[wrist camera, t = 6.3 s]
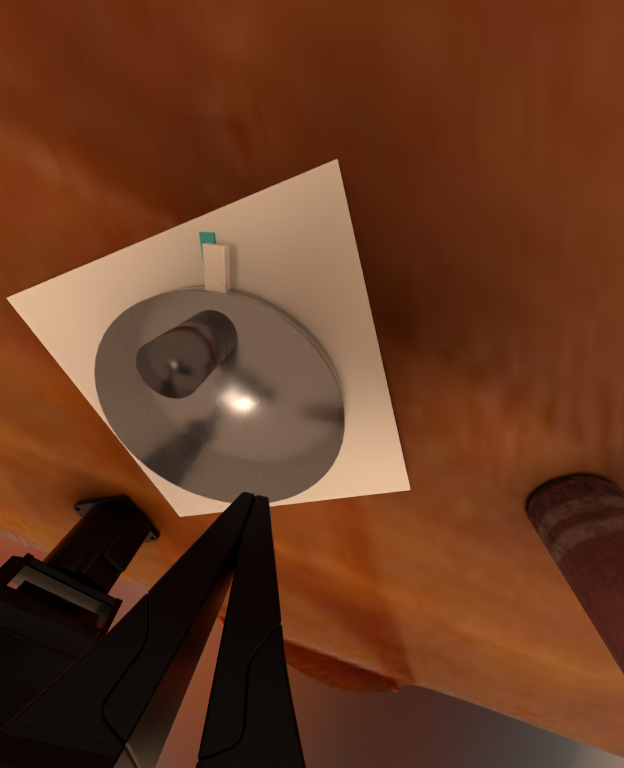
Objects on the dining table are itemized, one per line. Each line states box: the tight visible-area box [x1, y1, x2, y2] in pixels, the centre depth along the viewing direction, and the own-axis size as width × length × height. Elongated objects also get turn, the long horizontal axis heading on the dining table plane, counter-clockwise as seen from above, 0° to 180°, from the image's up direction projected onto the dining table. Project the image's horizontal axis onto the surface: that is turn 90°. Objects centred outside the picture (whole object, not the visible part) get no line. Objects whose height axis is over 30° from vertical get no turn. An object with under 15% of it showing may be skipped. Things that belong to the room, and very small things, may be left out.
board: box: [7, 159, 410, 517], centre depth 19 cm, size 20×20×2 cm
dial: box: [94, 243, 345, 503], centre depth 15 cm, size 17×15×6 cm
